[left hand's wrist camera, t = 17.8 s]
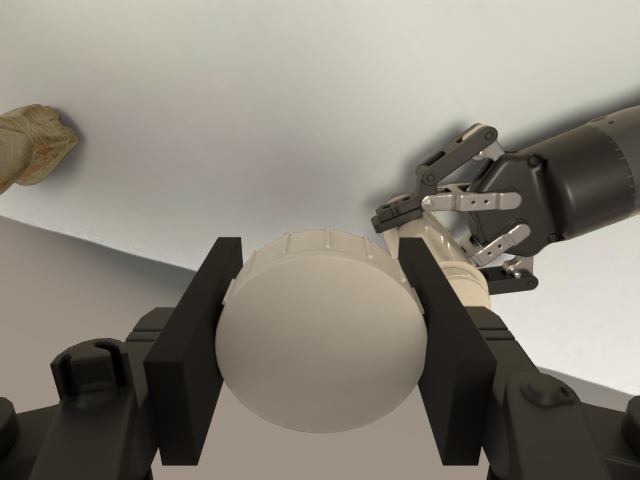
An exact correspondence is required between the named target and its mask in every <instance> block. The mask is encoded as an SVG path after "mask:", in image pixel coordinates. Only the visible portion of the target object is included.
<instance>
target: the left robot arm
mask: <svg viewBox="0 0 640 480" xmlns="http://www.w3.org/2000/svg"><path fill="white" fill-rule="evenodd" d="M398 261H399V263H400V266H401V268H402V271H403V272H404V274H405V275H406V277H407V280H408V282H409V284H410V286H411V288H414V289H415V291H416V293H417V296H418V298H419V300H420V303H421V305H422V307H423V310H424V313H425V314H422V315H423V318H424V321H425V324H426V328H427V346H426V355H425V364H424V370H423V373H422V375H421V377H420V379H419V381H418V387H419V390H420V393H421V396H422V399H423V403H424V406H425V409H426V412H427V416H428V419H429V422H430V425H431V429H432V432H433V435H434V438H435V442H436V445H437V448H438V451H439V454H440V457H441V461H442V464H443V465H444V466H477V465H478V463H479V457H480V452H481V447H483V449H484V452H485V454H486V456H487V459H488V461H489V463H490V465H489V470H488V475H487V480H640V395H639V396H635V397H633V398H632V399H631V400H630V401H629V402H628V405H627V408H626V410H625V412H621V411H617V410H612V409H607V408H603V407H598V406H594V405H590V404H586V403H583V402H581V401H580V399H579V397H578V396H577V395H576V393H575V392H574V390H573V389H571V388H570V387H569V386H568V385H566V384H565V383H564V382H562V381H560V380H558V379H556V378H554V377H552V376H550V375H547V374H543V373H540V372H539V370H538V369H537V368H536V366H535V365H534V364H533V362H532V361H531V359H530V358H529V357H528V355H527V354H526V353H525V351H524V350H523V348H522V347H521V346H520V344H519V343H518V341H515V337H514V336H513V335H512V333H511V332H510V331H508V328H507V326H506V325H505V324H504V322H503V321H502V319H501V318H500V317H499V316H498V315H497V314H495V313H494V312H492V311H491V310H489V309H488V308H486V307H485V306H463V304H462V303H461V301H460V299H459V298H458V296H457V294H456V293H455V291H454V289H453V288H452V286H451V284H450V283H449V281H448V280H447V278H446V276H445V275H444V273H443V271H442V270H441V268H440V266H439V265H438V263H437V261H436V260H435V258H434V256H433V255H432V253H431V251H430V250H429V248H428V247H427V245H426V243H425V242H424V240H423V238H422V237H399V248H398ZM242 268H243V258H242V245H241V237H218V239H217V240H216V242H215V244H214V245H213V247H212V249H211V250H210V252H209V254H208V255H207V257H206V259H205V260H204V262H203V263H202V265H201V267H200V268H199V270H198V272H197V273H196V275H195V277H194V278H193V280H192V282H191V283H190V285H189V287H188V288H187V290H186V292H185V293H184V295H183V296H182V298H181V300H180V301H179V303H178V305H177V306H176V307H156V308H155V309H153V310H152V311H150V312H149V313H147V314H146V315H144V316H143V317H142V318H141V319H140V320H139V322H138V323H137V324H136V326H135V327H134V329H133V332H131V333H130V334H129V335H128V337H127V338H126V342H121V341H120V340H116V339H111V338H101V339H93V340H89V341H85V342H81V343H79V344H77V345H74V346H72V347H70V348H68V349H66V350H65V351H63V352H62V353H60V354H59V355H58V356H57V357H56V358H55V359H54V360H53V362H52V363H51V364H50V366H51V370H52V373H53V377H54V380H55V384H56V387H57V390H58V394H59V397H60V402H59V404H57V405H53V406H50V407H45V408H41V409H37V410H32V411H27V412H23V413H18V414H16V412H15V410H14V407H13V404H12V402H10V401H9V400H8V399H6V398H3V397H0V480H153V475H152V470H151V464H152V462H153V459H154V457H155V455H156V452H157V450H158V447H159V451H160V456H161V461H162V465H163V466H196V465H198V462H199V459H200V455H201V452H202V449H203V445H204V442H205V439H206V436H207V433H208V429H209V426H210V423H211V420H212V416H213V413H214V410H215V407H216V403H217V400H218V397H219V394H220V391H221V387H222V384H223V381H224V379H223V377H222V375H221V372H220V369H219V366H218V363H217V358H216V353H215V337H216V329H217V325H218V322H219V318H220V316H221V313H222V311H223V308H224V306H225V305H223V304H222V302H223V300H224V297H225V295H226V293H227V290H228V288H229V286H230V283H231V281H232V279H235V280H236V277H237V275H238V274H239V272H240V271H241V269H242Z"/></svg>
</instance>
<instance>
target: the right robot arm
mask: <svg viewBox="0 0 640 480" xmlns="http://www.w3.org/2000/svg"><path fill="white" fill-rule="evenodd" d="M497 137H498V132H497V130H496V129H495V128H493V127H490V126H487V125H483V124H480V123H477V124H474V125H473V126H471V127H470V128H469V129H467V130H466V131H464V132H463V133H462V134H460V135H459V136H458V137H456V138H455V139H454V140H452V141H451V142H450V143H448V144H447V145H445V146H444V147H443V148H441V149H440V150H439V151H437V152H436V153H435V154H433V155H432V156H430V157H429V158H428V159H426V160H425V161H424V162H422V163H421V164H420V165H418V166H417V168H416V171H415V172H416V175H417V185H416V189H415V191H414V192H413V193H412V194H410V195H408V196H405V197H403V198H400V199H398V200H395V201H393V202H390V203H388V204H385V205H383V206H381V207H380V208H378V209H377V210H376V212H377V215H376V216H374V217H373V218H372V219H371V221H372V224H373V227H374V229H375V231H376V233H382V232H385V231H387V230H390V229H392V228H395V227H397V226H400V225H402V224H405V223H408V222H410V221H412V220H415V219H418V218H420V217H423V213H422V212H424V211H428V212H430V211H444V210H454V211H465V213H466V214H467V215H468V217H469V228H470V231H471V232H470V233H469V234H468V235H466V236H465V237H464V238H463V239H461V240H460V242H459V246H460V247H461V248H462V249H463V251H464V252H465V253H466V254H467V256H468V257H469V258H470V259H471V261H472V262H473V263H474V264H475V266H476V267H483V266H485V265H487V264H488V263H489V262H491V261H492V260H493V259H495V258H496V257H498V256H499V255H500V254H502V253H507V254H512V255H516V256H515V257H514V258H513V259H512V260H508V261H504V262H503V266H497V267H489V268H481V269H479V271H480V272H481V273H482V274H483V276H484V278H485V279H486V282H487V285H488V293H489V295H495V294H503V293H511V292H520V291H528V290H533V289H535V288H536V287H537V286H538V279H537V278H536V277H535V276H534V275H533V256H534V255H536V254H538V253H539V252H540V251H541V250H542V249H543V248H544V247H546V246H547V245H549V244H551V243H554V242H559V241H565V240H570V239H572V238H575V237H578V236H581V235H583V234H586V233H589V232H592V231H594V230H597V229H600V228H603V227H605V226H608V225H611V224H614V223H616V222H619V221H622V220H625V219H627V218H630V217H633V216H636V215H638V214H640V105H638V106H634V107H630V108H627V109H623V110H620V111H617V112H614V113H611V114H609V115H606V116H600V117H597V118H595V119H592V120H590V121H589V122H588V123H587V124H584V125H582V126H579V127H577V128H574V129H572V130H569V131H567V132H564V133H562V134H559V135H557V136H554V137H552V138H549V139H547V140H544V141H542V142H539V143H537V144H534V145H532V146H529V147H527V148H525V149H523V150H520V151H516V152H508V151H503V149H502V147H501V146H500V144H499V143H498V141H497V140H496V139H497ZM484 158H489V160H488V161H487V163H486V164H485V165H484V167H483V168H482V169H481V171H480V172H479V173H478V175H477V176H476V177H475V179H474V180H473V182H471V183H458V184H447V185H445V186H439V187H437V183H438V182H439V181H441V180H442V179H444V178H445V177H446V176H448V175H449V174H450V173H452V172H453V171H455V170H456V169H457V168H459V167H460V166H462V165H463V164H464V163H466V162H467V161H469V160H470V159H473V160H476V161H480V160H482V159H484ZM480 245H482V246H481V247H479V246H480Z"/></svg>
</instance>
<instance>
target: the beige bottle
mask: <svg viewBox="0 0 640 480" xmlns="http://www.w3.org/2000/svg"><path fill="white" fill-rule="evenodd" d="M408 195H410V194H403V195H399V196H396V197H394V198H392V199H391V200H389V201H388V202H387V203H386V204H388V203H390V202H393V201H395V200H398V199H400V198H403V197H405V196H408ZM422 213H423V217H420V218H418V219H415V220H412V221H410V222H408V223H405V224H402V225H400V226H397V227H395V228H392V229H390V230H387V231H385V232H383V235H384V237H385V240H386V243H387V246H388V248H389V251H390V254H391V257H392V258H393V259H395V258H397V259H398V248H399V237H422V238H423V240H424V242H425V243H426V245H427V247H428V248H429V250H430V251H431V253H432V255H433V256H434V258H435V260H436V261H437V263H438V265H439V266H440V268H441V270H442V271H443V273H444V275H445V276H446V278H447V280H448V281H449V283H450V284H451V286H452V288H453V289H454V291H455V293H456V294H457V296H458V298H459V299H460V301H461V303H462V304H463V306H485V307H486V308H488V309H489V310H490V309H491V302H490V298H489V293H488V285H487V282H486V279H485V278H484V276H483V274H482V273H481V272H480V271H479V269H478V268H477V267H476V266H475V264H474V263H473V262H472V261H471V259H470V258H469V257H468V256H467V254H466V253H465V252H464V251H463V249H462V248H461V247H460V246H459V244H458V243H457V242H456V241H455V239H454V238H453V237H452V236H451V234H450V233H449V232H448V230H447V229H446V228H445V227H444V225H443V224H442V223H441V222H440V220H439V219H438V218H437V217H436V215H435V214H434V213H433V212H432V211H430V212H428V211H424V212H422Z"/></svg>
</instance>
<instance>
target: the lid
mask: <svg viewBox="0 0 640 480" xmlns="http://www.w3.org/2000/svg"><path fill="white" fill-rule="evenodd" d="M222 304H223V305H225V306H224V308H223V311H222V313H221V316H220V318H219V322H218V325H217V329H216V337H215V353H216V358H217V363H218V366H219V369H220V372H221V375H222V377H223V379H224V381H225V382H226V384H227V386H228V387H229V389H230V390H231V391H232V393H233V394H234V396H235V397H236V398H237V399H238V400H239V401H240V402H241V403H242V404H243V405H244V406H246V407H247V408H248V409H249V410H251V411H252V412H253V413H255V414H256V415H258V416H260V417H261V418H263V419H265V420H267V421H269V422H271V423H273V424H276V425H278V426H281V427H284V428H288V429H291V430H296V431H301V432H308V433H336V432H342V431H348V430H352V429H356V428H359V427H362V426H365V425H367V424H370V423H372V422H374V421H376V420H378V419H380V418H382V417H384V416H385V415H387V414H388V413H390V412H391V411H393V410H394V409H395V408H396V407H398V406H399V405H400V404H401V403H402V402H403V401H404V400H405V399H406V398H407V397H408V396H409V395H410V393H411V392H412V390H413V389H414V388H415V386H416V385H417V383H418V381H419V379H420V377H421V375H422V373H423V370H424V364H425V355H426V346H427V328H426V324H425V321H424V318H423V315H422V314H425V313H424V310H423V307H422V305H421V303H420V300H419V298H418V296H417V293H416V291H415V289H414V288H411V286H410V284H409V282H408V280H407V277H406V275H405V274H404V272H403V271H402V268H401V266H400V263H399V261H398V259H397V258H395V259H393V258H392V257H391V256H390V255H389V254H388V253H386V252H385V251H384V250H383V249H382V248H380V247H379V246H377V245H375V244H374V243H372V242H370V241H369V239H368V237H366V236H364V238H362V237H359V236H356V235H353V234H350V233H347V232H341V231H336V230H329V227H325V230H321V229H320V230H307V231H302V232H297V233H293V234H289V232H287V233H285V236H284V237H281V238H279V239H277V240H275V241H273V242H271V243H269V244H268V245H266V246H265V247H263V248H262V249H260V250H259V251H258V252H256V251H253V252H252V254H251V257H250V259H249V260H248V261H247V263H246V264H245V265H244V266H243V268H242V269H241V271H240V272H239V274H238V275H237V277H236V280H235V279H232V281H231V283H230V286H229V288H228V290H227V293H226V295H225V297H224V300H223V302H222Z"/></svg>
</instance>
